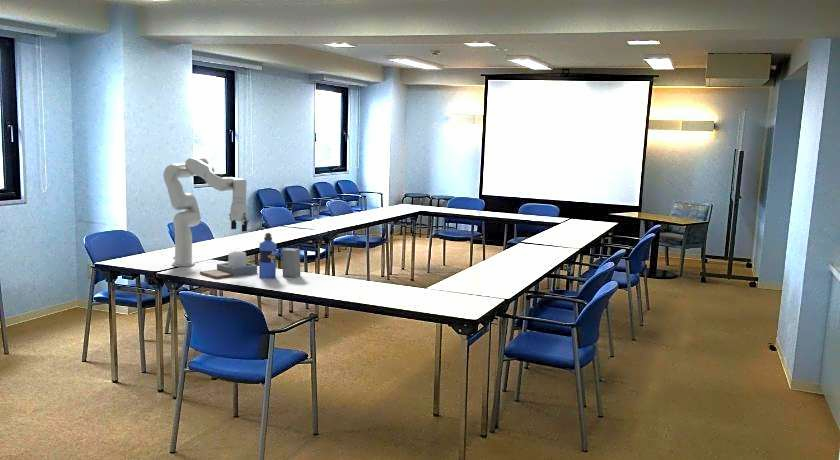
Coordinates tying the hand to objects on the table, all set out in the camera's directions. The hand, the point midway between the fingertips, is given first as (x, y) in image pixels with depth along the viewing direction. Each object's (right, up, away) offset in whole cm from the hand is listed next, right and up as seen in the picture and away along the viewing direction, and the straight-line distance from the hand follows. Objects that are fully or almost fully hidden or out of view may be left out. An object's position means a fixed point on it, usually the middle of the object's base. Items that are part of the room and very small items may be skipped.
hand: (238, 230), depth 400 cm
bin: (-2, -24, +3) cm, 24 cm away
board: (-11, -25, -8) cm, 29 cm away
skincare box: (+30, -26, 0) cm, 40 cm away
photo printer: (-2, -25, +3) cm, 25 cm away
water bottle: (+17, -27, -5) cm, 32 cm away
